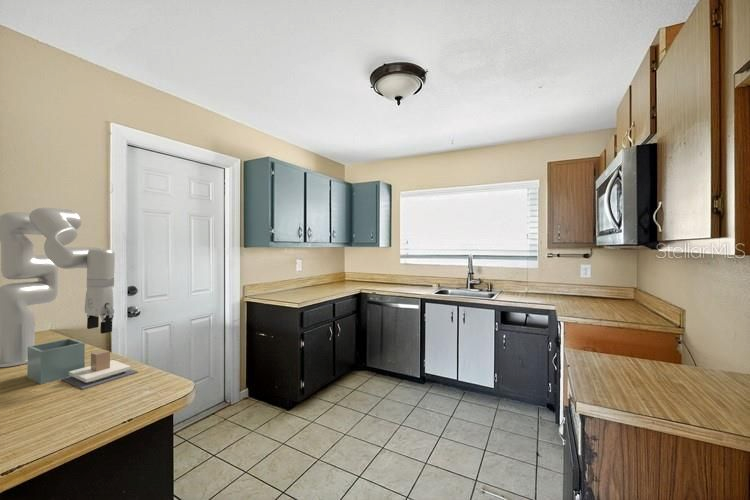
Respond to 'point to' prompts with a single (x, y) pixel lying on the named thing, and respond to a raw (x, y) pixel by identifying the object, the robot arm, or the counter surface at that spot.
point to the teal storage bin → (55, 359)
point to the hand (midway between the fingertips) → (99, 330)
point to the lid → (99, 368)
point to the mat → (85, 385)
